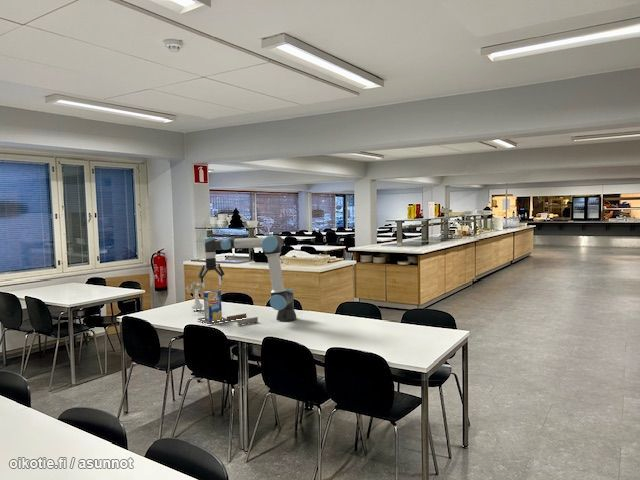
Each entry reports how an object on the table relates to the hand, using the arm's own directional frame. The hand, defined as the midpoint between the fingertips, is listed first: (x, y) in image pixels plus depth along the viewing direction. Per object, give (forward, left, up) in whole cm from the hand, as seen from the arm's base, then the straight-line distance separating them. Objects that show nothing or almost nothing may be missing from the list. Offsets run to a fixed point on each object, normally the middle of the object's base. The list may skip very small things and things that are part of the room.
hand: (212, 285), depth 350 cm
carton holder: (-18, -15, -27) cm, 36 cm away
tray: (0, 0, -27) cm, 27 cm away
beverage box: (0, 0, -27) cm, 27 cm away
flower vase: (+49, -8, -27) cm, 57 cm away
